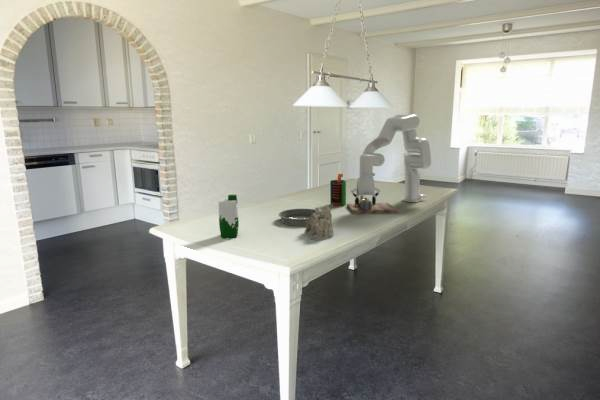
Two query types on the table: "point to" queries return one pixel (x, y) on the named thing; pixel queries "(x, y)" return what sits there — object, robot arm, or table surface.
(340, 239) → the table surface
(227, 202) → the milk carton
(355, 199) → the brass gear
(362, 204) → the steel gear
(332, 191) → the motor
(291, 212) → the cake pan
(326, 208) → the grey rough lump
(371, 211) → the board
